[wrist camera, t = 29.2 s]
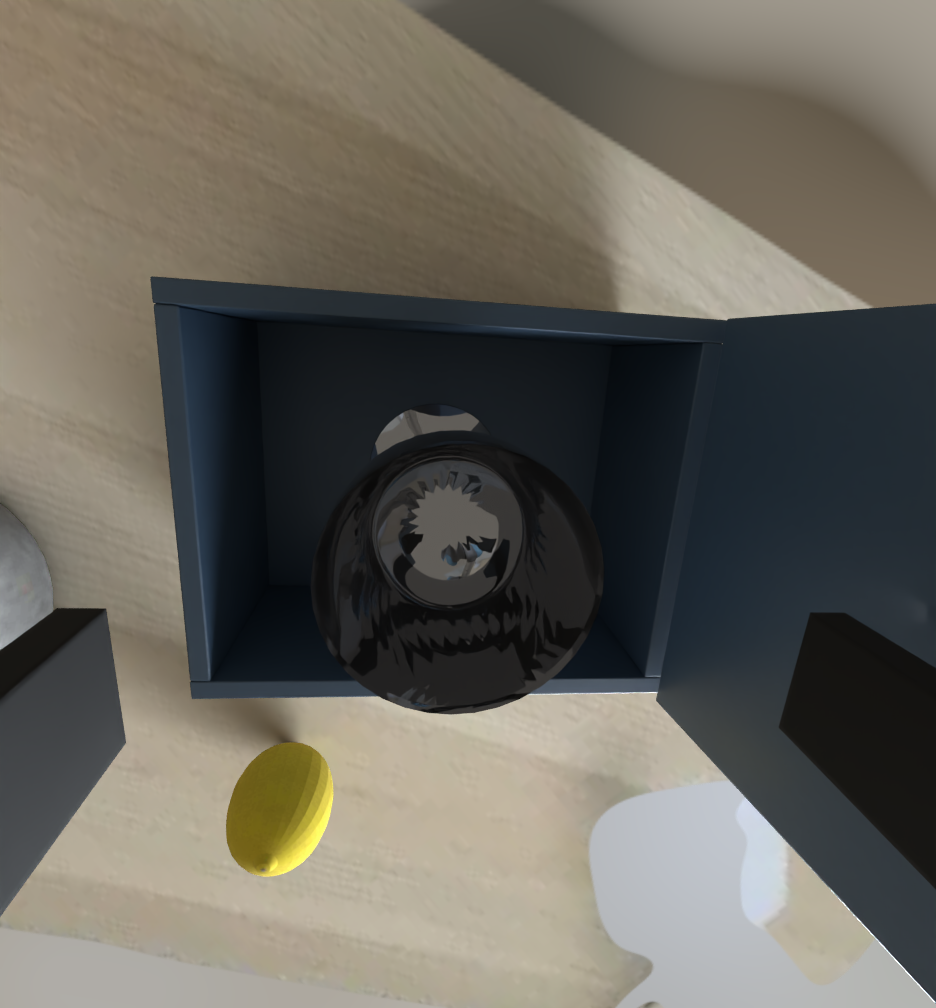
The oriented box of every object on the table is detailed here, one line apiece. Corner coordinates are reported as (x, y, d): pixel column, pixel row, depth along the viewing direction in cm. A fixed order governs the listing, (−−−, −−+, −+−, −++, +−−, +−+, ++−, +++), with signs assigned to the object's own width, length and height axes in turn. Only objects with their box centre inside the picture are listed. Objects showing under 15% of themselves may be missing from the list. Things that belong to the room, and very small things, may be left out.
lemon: (242, 776, 33) (192, 902, 26) (264, 705, 32) (219, 816, 24) (327, 793, 34) (303, 919, 27) (352, 726, 33) (334, 837, 26)
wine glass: (363, 389, 27) (308, 431, 12) (514, 401, 28) (627, 452, 13) (359, 535, 29) (309, 715, 14) (500, 541, 30) (583, 714, 15)
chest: (259, 591, 30) (191, 699, 21) (244, 304, 26) (149, 275, 16) (587, 594, 32) (658, 693, 23) (622, 331, 28) (728, 320, 19)
